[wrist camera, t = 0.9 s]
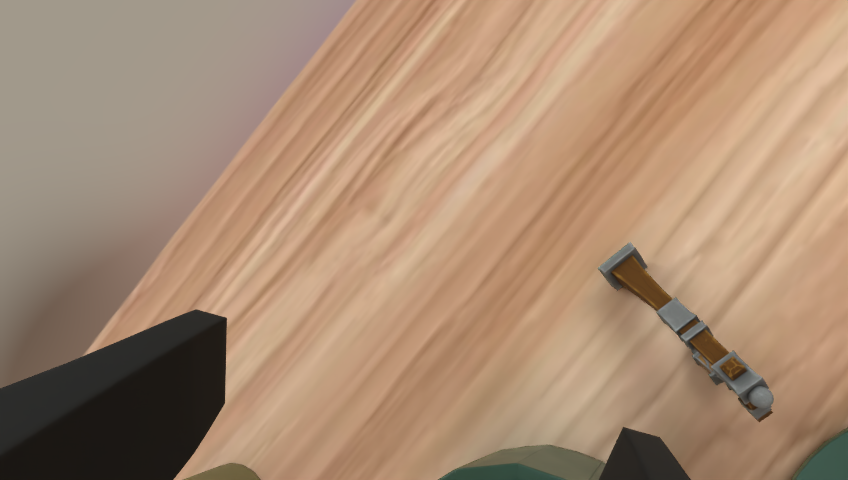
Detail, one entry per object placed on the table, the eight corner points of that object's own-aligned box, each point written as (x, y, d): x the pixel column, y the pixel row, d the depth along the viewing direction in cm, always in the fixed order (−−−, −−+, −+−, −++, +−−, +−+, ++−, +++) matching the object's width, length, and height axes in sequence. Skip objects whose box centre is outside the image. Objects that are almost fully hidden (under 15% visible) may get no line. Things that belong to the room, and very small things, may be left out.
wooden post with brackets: (764, 451, 19) (741, 414, 16) (629, 310, 25) (595, 265, 22) (806, 423, 19) (790, 379, 16) (659, 287, 25) (628, 239, 22)
